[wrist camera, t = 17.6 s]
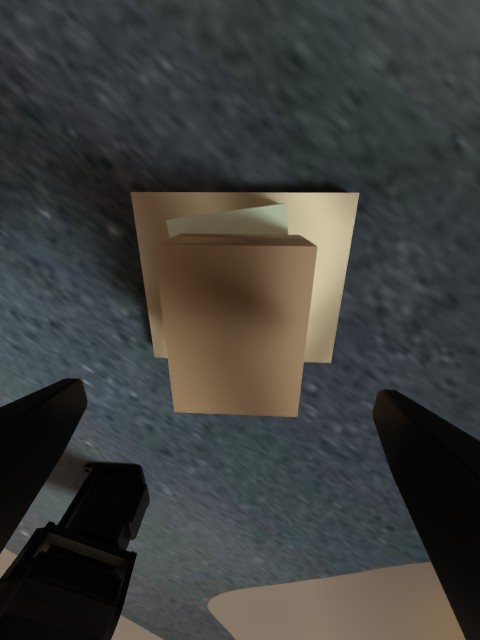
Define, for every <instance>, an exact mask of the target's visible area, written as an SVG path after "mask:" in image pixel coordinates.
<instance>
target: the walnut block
mask: <svg viewBox="0 0 480 640" xmlns="http://www.w3.org/2000/svg"><path fill="white" fill-rule="evenodd" d="M317 247H318V246H316V245H315V244H313V243H312V242H310V241H309V240H307V239H305V238H304V237H302V236H301V235H266V234H179V235H177V236H174V237H172V238H169V239H167V240H164V241H161V242H159V243H156V244H154V251H155V259H156V267H157V275H158V284H159V292H160V300H161V308H162V316H163V324H164V332H165V340H166V348H167V356H168V364H169V373H170V381H171V389H172V397H173V405H174V412H186V413H211V414H236V415H262V416H287V417H297V414H298V406H299V398H300V389H301V381H302V373H303V364H304V356H305V347H306V339H307V331H308V322H309V314H310V306H311V297H312V289H313V281H314V272H315V264H316V256H317Z"/></svg>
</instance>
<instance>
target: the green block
mask: <svg viewBox="0 0 480 640" xmlns="http://www.w3.org/2000/svg"><path fill="white" fill-rule="evenodd" d="M166 223H167V228H168V232H169V236H170V238H172V237H174V236H177V235H179V234H266V235H288V221H287V203H281V204H273V205H266V206H258V207H251V208H244V209H237V210H230V211H223V212H216V213H209V214H202V215H195V216H187V217H181V218H176V219H170V220H166Z"/></svg>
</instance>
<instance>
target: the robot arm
mask: <svg viewBox="0 0 480 640" xmlns="http://www.w3.org/2000/svg"><path fill="white" fill-rule="evenodd" d="M86 407H87V397H86V393H85V390H84V386H83V383H82V381H81V380H80V379H74V378H66V379H63V380H61V381H58V382H56V383H54V384H52V385H50V386H47V387H45V388H43V389H41V390H38V391H36V392H34V393H32V394H29V395H27V396H25V397H23V398H20V399H18V400H16V401H14V402H11V403H9V404H7V405H5V406H2V407H0V554H1V552H2V550H3V549H4V547H5V546H6V544H7V542H8V541H9V539H10V538H11V536H12V534H13V533H14V531H15V530H16V528H17V526H18V525H19V523H20V522H21V520H22V518H23V517H24V515H25V514H26V512H27V510H28V509H29V507H30V506H31V504H32V502H33V501H34V499H35V498H36V496H37V495H38V493H39V491H40V490H41V488H42V487H43V485H44V483H45V482H46V480H47V479H48V477H49V475H50V474H51V472H52V471H53V469H54V467H55V466H56V464H57V463H58V461H59V459H60V458H61V456H62V454H63V452H64V450H65V449H66V447H67V445H68V443H69V441H70V439H71V437H72V435H73V433H74V431H75V429H76V427H77V425H78V423H79V421H80V419H81V417H82V415H83V413H84V411H85V409H86ZM373 419H374V422H375V426H376V429H377V432H378V435H379V438H380V441H381V444H382V447H383V450H384V453H385V456H386V459H387V462H388V465H389V467H390V470H391V473H392V475H393V477H394V480H395V482H396V484H397V486H398V489H399V491H400V493H401V495H402V498H403V500H404V502H405V504H406V507H407V509H408V511H409V513H410V516H411V518H412V520H413V522H414V525H415V527H416V529H417V531H418V534H419V536H420V538H421V540H422V542H423V545H424V547H425V549H426V551H427V554H428V556H429V558H430V560H431V562H432V565H433V567H434V569H435V571H436V574H437V576H438V578H439V580H440V583H441V585H442V587H443V589H444V592H445V594H446V596H447V598H448V601H449V603H450V605H451V607H452V609H453V612H454V614H455V616H456V619H457V621H458V623H459V625H460V627H461V630H462V632H463V634H464V637H465V639H466V640H480V441H479V440H477V439H476V438H474V437H472V436H471V435H469V434H467V433H466V432H464V431H462V430H461V429H459V428H457V427H456V426H454V425H452V424H451V423H449V422H447V421H446V420H444V419H442V418H441V417H439V416H437V415H436V414H434V413H432V412H431V411H429V410H427V409H426V408H424V407H423V406H421V405H419V404H418V403H416V402H414V401H413V400H411V399H409V398H408V397H406V396H404V395H403V394H401V393H399V392H398V391H396V390H389V389H381V390H379V392H378V394H377V397H376V401H375V405H374V408H373ZM82 470H83V473H84V476H85V479H86V480H85V481H84V483H83V484H82V486H81V488H80V489H79V491H78V493H77V494H76V496H75V497H74V499H73V501H72V502H71V504H70V506H69V507H68V509H67V511H66V512H65V514H64V515H63V517H62V519H61V520H60V522H59V524H58V525H55V523H53V522H51V521H49V522H48V523H47V525H46V526H45V527H43V528H37V529H36V530H35V532H34V533H33V535H32V536H31V538H30V539H29V541H28V542H27V544H26V545H25V547H24V548H23V549H22V551H21V552H20V553H19V555H18V556H17V558H16V559H15V560H14V561H13V563H12V564H11V565H10V567H9V568H8V569H7V571H6V572H5V573H4V575H3V576H2V577H1V578H0V640H111V638H112V636H113V633H114V631H115V628H116V626H117V623H118V620H119V617H120V615H121V611H122V608H123V605H124V601H125V597H126V594H127V590H128V586H129V582H130V578H131V575H132V571H133V567H134V563H135V559H136V555H137V553H136V552H133V551H131V552H129V551H127V550H126V549H127V547H128V544H129V541H130V540H134V539H135V538H136V536H137V533H138V530H139V528H140V525H141V522H142V519H143V516H144V514H145V511H146V508H147V507H148V505H149V499H150V498H149V493H148V488H147V485H146V483H145V479H144V474H143V470H142V468H141V467H137V466H117V465H97V464H86V465H85V466H84V467H83V469H82Z"/></svg>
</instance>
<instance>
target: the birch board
mask: <svg viewBox="0 0 480 640" xmlns="http://www.w3.org/2000/svg"><path fill="white" fill-rule="evenodd" d="M131 197H132V204H133V211H134V218H135V225H136V232H137V239H138V245H139V252H140V259H141V266H142V273H143V280H144V286H145V293H146V300H147V307H148V314H149V321H150V328H151V334H152V341H153V348H154V355H155V357H162V358H168V356H167V348H166V340H165V332H164V324H163V316H162V308H161V300H160V292H159V284H158V275H157V267H156V259H155V251H154V244H156V243H159V242H161V241H164V240H167V239H169V238H170V236H169V232H168V228H167V223H166V220H170V219H176V218H181V217H187V216H195V215H202V214H209V213H216V212H223V211H230V210H237V209H244V208H251V207H258V206H266V205H273V204H281V203H287V221H288V235H301V236H302V237H304V238H305V239H307V240H309V241H310V242H312V243H313V244H315V245H316V246H318V247H317V256H316V264H315V272H314V281H313V289H312V297H311V306H310V314H309V322H308V331H307V339H306V347H305V356H304V362H322V363H331V358H332V352H333V346H334V340H335V334H336V328H337V322H338V316H339V311H340V305H341V299H342V293H343V287H344V281H345V275H346V269H347V263H348V257H349V251H350V245H351V239H352V233H353V227H354V222H355V216H356V210H357V204H358V198H359V193H253V192H131Z"/></svg>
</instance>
